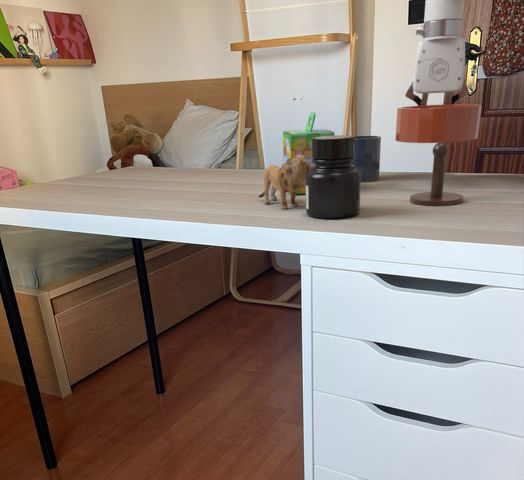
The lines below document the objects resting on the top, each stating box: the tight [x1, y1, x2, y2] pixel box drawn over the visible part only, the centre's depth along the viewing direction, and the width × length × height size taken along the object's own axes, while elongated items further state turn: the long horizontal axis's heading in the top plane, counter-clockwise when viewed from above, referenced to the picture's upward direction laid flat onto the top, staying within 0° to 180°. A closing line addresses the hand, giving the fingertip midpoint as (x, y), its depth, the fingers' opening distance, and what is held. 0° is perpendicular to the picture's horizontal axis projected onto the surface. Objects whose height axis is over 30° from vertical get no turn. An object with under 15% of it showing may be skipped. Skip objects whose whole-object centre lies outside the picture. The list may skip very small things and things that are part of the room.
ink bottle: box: [305, 134, 362, 219], centre depth 86 cm, size 10×9×12 cm
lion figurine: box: [258, 155, 312, 210], centre depth 96 cm, size 15×5×9 cm, turn 36°
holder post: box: [409, 142, 464, 207], centre depth 92 cm, size 9×9×10 cm
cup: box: [351, 135, 382, 183], centre depth 118 cm, size 8×8×9 cm
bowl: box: [395, 102, 483, 144], centre depth 107 cm, size 16×23×6 cm
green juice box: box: [282, 112, 336, 195], centre depth 107 cm, size 9×9×15 cm
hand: (433, 127), depth 116 cm, fingers closed on bowl, 3 cm apart
